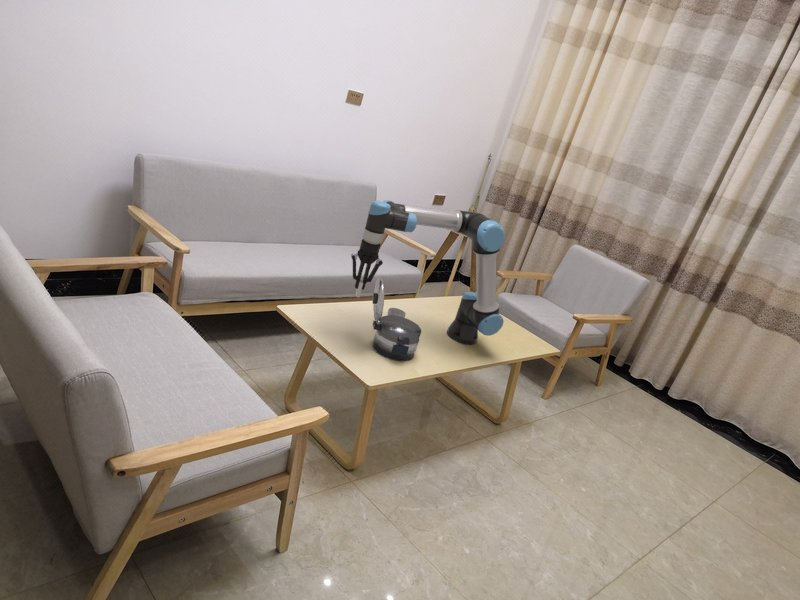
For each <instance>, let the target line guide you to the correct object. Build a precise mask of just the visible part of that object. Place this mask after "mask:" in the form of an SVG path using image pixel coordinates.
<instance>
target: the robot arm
mask: <svg viewBox="0 0 800 600" xmlns="http://www.w3.org/2000/svg"><path fill="white" fill-rule="evenodd" d="M417 226H424V227H430V228H431V227H432V228H438V229H445V230H451V231H452V232H453V233H456V234H457V233H458V234H462V235H463V236H466V237H467V238H469V239H470V240H471V241H472V243H471V245H472V252H473V253H474V254H475V266H476V267H475V272H476V273H475V276H476V277H475V279H476V281H475V282H476V291H475V292H474V291H465V292H464V293H463V295H462V297H461V300H460V302H459V306H458V309H457V311H456V314H455V318H454V320H453V321H452V322H451V323H450V325H449V326H448V327H447V330H446V335H447V336H448V337H450V338H451V339H452V340H454V341H456V342H459V343H462V344H466V345H474V344H476V343H477V342H478V339H479V338H478V336H479V335H478V334H479V333H481V334H482V335H483V336H487V337H488V336H493V335H495V334H497V333H498V332H499V331H500V330H501V329H502V328H503V325H504V321H505V320H504V317H503V316H502V315H501V314H500V304H499V302H498V301H496V300H497V298H496V297H497V254H499V252H500V250H501V248H502V245H504V243H505V240H506V231H505V230H504V228H503V227H502V225H501V224H499V223H498V222H497V221H495V220H493V219H491V218H489V217H488V216H486V215H484V214H483V213H480V212H477V211H476V212H475V211H474V212H473V211H468V210H467V211H466V210H460V209H459V210H458V209H457V210H454V211H450V210H443V209H435V208H427V207H423V206H415V205H409V204H401V203H395V202H393V201H392V200H388V199H386V200H383V201H380V200H374V201H372V202H371V204H370V206H369V209H368V215H367V219H366V223H365V227H364V231H363V235H362V239H361V241H360V246H359V250H357V252H356V253H351V254H350V256H351V260H352V279H353V280H355V284H354V288H355V289H356V290H355V297H356V298H360V297H361V293H362V291H364V290H365V288H366V285H367V283H371V282H372V280H373V279H374V277H375V276H376V274H377V271H378V269H379V268H380V267H381V266H382V265H383V263H384V262H383V260H382V259H380V256H379V253H380V249H381V244H382V240H383V237H384V233H385V229H387V230H392V231H396V232H397V231H399V232H402V233H412V232H414V231H415V229H416V228H417ZM357 259H359V261H360V263H359V268H358V271H357ZM374 263H375V264H374ZM372 264H374V266H373V268H372V267H371V266H372ZM364 266H365V269H364ZM371 268H372V269H371ZM370 269H371V271H370ZM363 272H364V274H363ZM362 275H363V279H362Z"/></svg>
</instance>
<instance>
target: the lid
mask: <svg viewBox="0 0 800 600" xmlns="http://www.w3.org/2000/svg"><path fill="white" fill-rule="evenodd" d="M384 304H385V280H384V277H383V276H377V277H376V280H375V285H374V291H373V294H372V305H373V306H372V307H373V317H374V321H376V323H377V325H378V326H379V325H380V320H381V317H383V312H384V306H385V305H384Z"/></svg>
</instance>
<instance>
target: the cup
mask: <svg viewBox="0 0 800 600" xmlns="http://www.w3.org/2000/svg"><path fill="white" fill-rule="evenodd" d="M387 311H388V312H387V315H386V316H388V315H394V316H399V317H403V318H405V317H406V315H407V313H406V312H405V311H404V310H402V309H400V308H397V307H390V308H388V310H387Z"/></svg>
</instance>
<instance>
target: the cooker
mask: <svg viewBox="0 0 800 600" xmlns="http://www.w3.org/2000/svg"><path fill="white" fill-rule="evenodd" d="M372 327H373V330H375V333H374V337H373V343H372V348H373V350H374V351H375V352H376V353H378V354H379V355H380V356H382V357H384V358H386V359H389V360H393V361H398V362H406V361H407V362H408V361H411V360H412V359H413V358H414V356H415V353H416V351H417V350H418V346H419V342H420V337H421V334H422V328H421V327H420V326H419V324H418V323H415V322H414V321H412V320H410V319H408V318H403V317H399V316H394V315H388V316H387V315H382V317H381V320H380V325H379V326H378V325H377V323H376V321H375V320H372Z"/></svg>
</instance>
